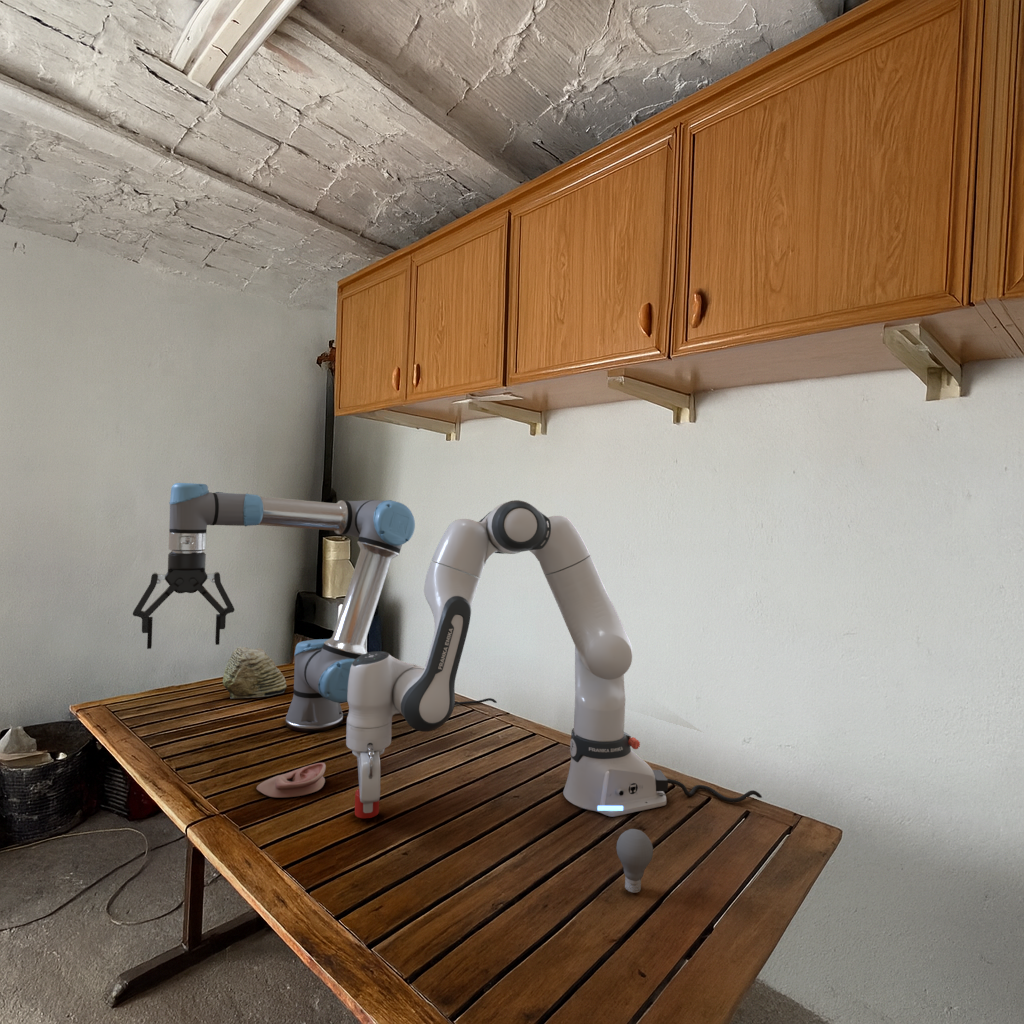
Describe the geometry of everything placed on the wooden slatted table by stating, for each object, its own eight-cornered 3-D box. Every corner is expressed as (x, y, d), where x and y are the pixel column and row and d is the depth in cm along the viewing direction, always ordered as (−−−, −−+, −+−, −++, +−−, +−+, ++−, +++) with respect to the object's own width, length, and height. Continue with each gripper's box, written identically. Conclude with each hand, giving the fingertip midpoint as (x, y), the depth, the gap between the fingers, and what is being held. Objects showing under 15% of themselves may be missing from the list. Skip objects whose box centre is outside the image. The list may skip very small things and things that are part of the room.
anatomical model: (248, 775, 133) (279, 754, 144) (247, 794, 133) (278, 771, 144) (306, 783, 130) (332, 761, 142) (305, 802, 130) (332, 779, 142)
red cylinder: (352, 818, 124) (352, 796, 124) (357, 806, 129) (358, 786, 129) (376, 818, 124) (376, 797, 124) (381, 807, 129) (381, 786, 129)
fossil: (218, 695, 195) (220, 647, 195) (278, 685, 208) (279, 640, 207) (228, 703, 189) (230, 653, 188) (289, 692, 201) (290, 645, 201)
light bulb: (610, 879, 108) (613, 822, 108) (644, 879, 109) (647, 822, 109) (619, 902, 102) (622, 840, 102) (655, 901, 103) (658, 840, 103)
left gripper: (120, 553, 133) (117, 653, 134) (248, 553, 145) (245, 645, 145) (123, 549, 140) (120, 645, 140) (245, 550, 151) (242, 638, 152)
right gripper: (389, 754, 117) (386, 828, 117) (381, 716, 137) (380, 780, 137) (353, 757, 115) (351, 832, 115) (351, 718, 135) (350, 782, 135)
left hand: (184, 645), depth 143 cm, fingers open, 13 cm apart
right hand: (367, 803), depth 126 cm, fingers closed on red cylinder, 5 cm apart
